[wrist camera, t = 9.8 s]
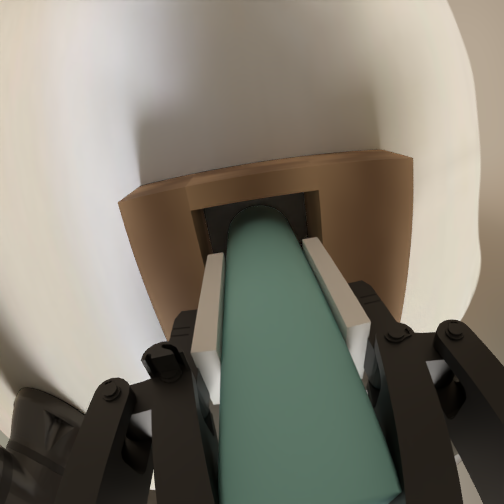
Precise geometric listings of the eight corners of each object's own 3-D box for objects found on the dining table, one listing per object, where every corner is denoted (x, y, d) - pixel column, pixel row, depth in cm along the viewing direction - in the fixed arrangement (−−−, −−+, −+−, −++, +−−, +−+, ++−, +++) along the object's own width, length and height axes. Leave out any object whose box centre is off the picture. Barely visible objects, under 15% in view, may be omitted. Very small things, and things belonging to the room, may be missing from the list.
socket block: (202, 371, 25) (191, 530, 11) (140, 185, 17) (-33, 348, 4) (373, 341, 24) (439, 481, 10) (380, 149, 17) (589, 236, 3)
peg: (233, 268, 19) (238, 539, 5) (222, 211, 17) (191, 516, 3) (293, 258, 19) (382, 512, 5) (287, 200, 17) (430, 470, 3)
